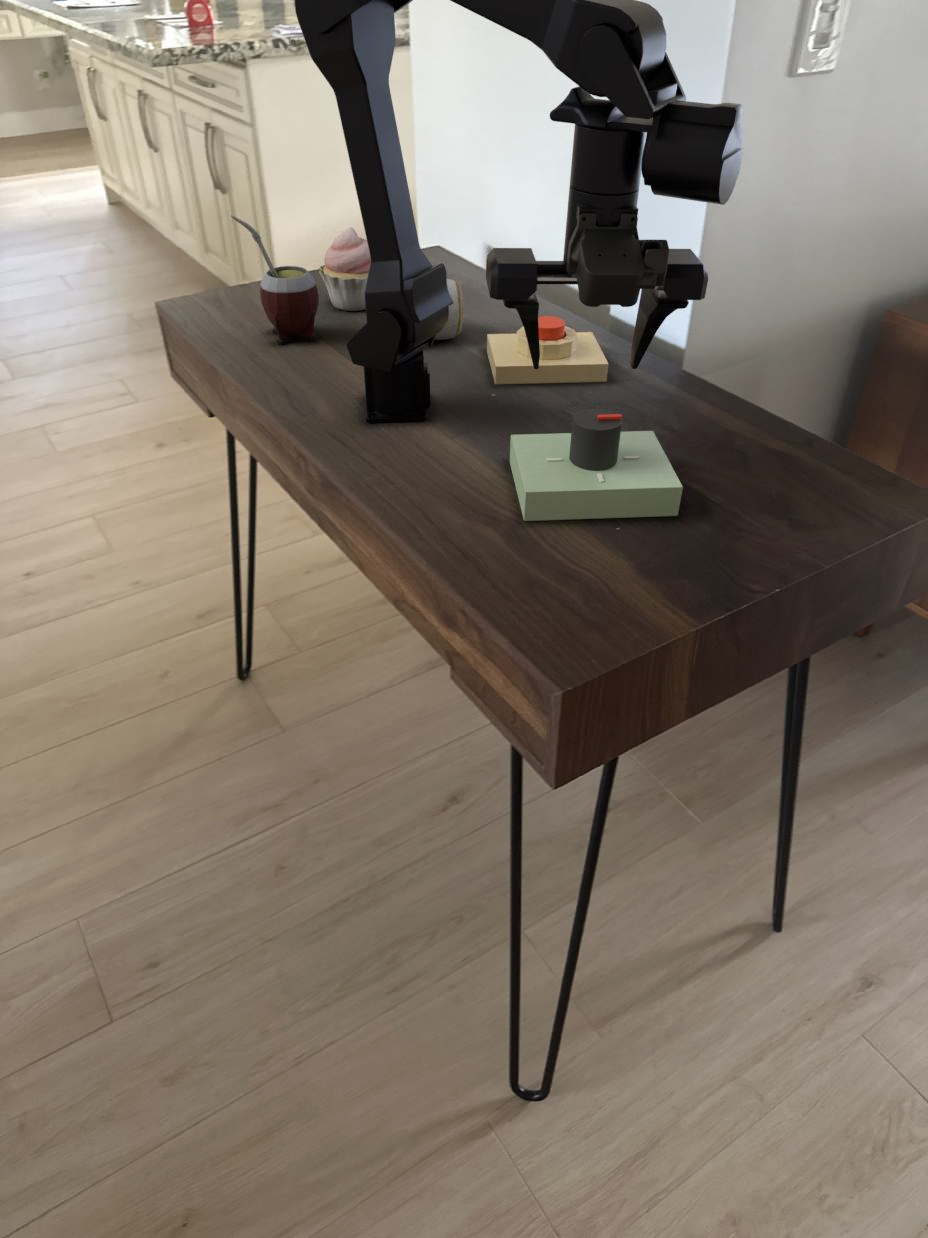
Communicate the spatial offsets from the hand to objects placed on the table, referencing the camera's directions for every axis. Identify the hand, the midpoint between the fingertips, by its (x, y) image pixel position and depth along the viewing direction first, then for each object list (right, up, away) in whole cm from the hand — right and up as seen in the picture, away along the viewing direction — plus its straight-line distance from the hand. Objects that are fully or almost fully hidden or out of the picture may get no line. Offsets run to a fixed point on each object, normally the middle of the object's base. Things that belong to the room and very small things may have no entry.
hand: (584, 367), depth 84 cm
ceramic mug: (-16, +13, +31) cm, 38 cm away
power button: (-2, +10, +21) cm, 24 cm away
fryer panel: (+1, -11, +1) cm, 11 cm away
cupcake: (-26, +20, +40) cm, 52 cm away
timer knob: (+1, -9, -1) cm, 9 cm away
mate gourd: (-33, +12, +30) cm, 47 cm away
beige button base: (-2, +7, +24) cm, 25 cm away
